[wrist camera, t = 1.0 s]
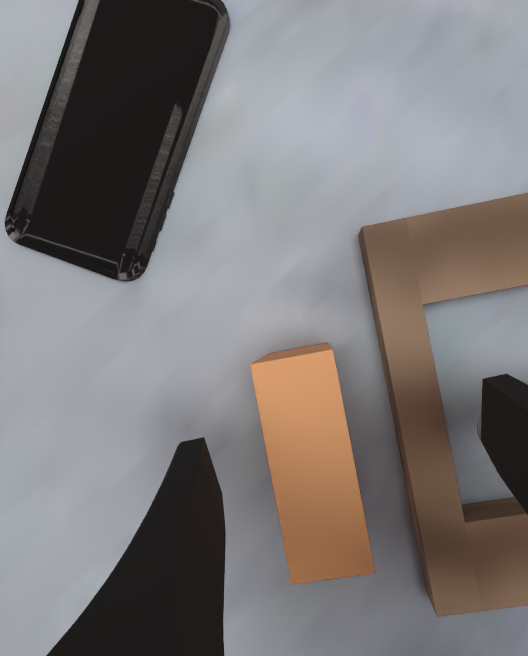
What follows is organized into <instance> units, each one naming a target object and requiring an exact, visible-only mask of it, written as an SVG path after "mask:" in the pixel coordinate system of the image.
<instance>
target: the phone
mask: <svg viewBox="0 0 528 656" xmlns="http://www.w3.org/2000/svg"><path fill="white" fill-rule="evenodd" d="M229 29H230V21H229V16H228V12H227V9H226V7H225V5H224V3H223V2H222V1H221V0H79V2H78V5H77V8H76V11H75V13H74V16H73V19H72V22H71V25H70V28H69V31H68V34H67V37H66V40H65V43H64V46H63V49H62V52H61V55H60V58H59V61H58V64H57V67H56V70H55V73H54V75H53V78H52V81H51V84H50V87H49V90H48V93H47V96H46V99H45V102H44V105H43V108H42V111H41V114H40V117H39V120H38V123H37V126H36V129H35V132H34V135H33V137H32V140H31V143H30V146H29V149H28V152H27V155H26V158H25V161H24V164H23V167H22V170H21V173H20V176H19V179H18V182H17V185H16V188H15V191H14V194H13V197H12V199H11V202H10V205H9V208H8V211H7V214H6V218H5V229H6V232H7V234H8V236H9V237H10V238H11V239H12V241H14V242H16V243H17V244H19V245H22V246H25V247H28V248H30V249H33V250H36V251H39V252H41V253H44V254H47V255H49V256H52V257H55V258H58V259H60V260H63V261H66V262H69V263H71V264H74V265H77V266H80V267H82V268H85V269H88V270H90V271H93V272H96V273H99V274H101V275H104V276H107V277H110V278H112V279H116V280H120V281H133V280H135V279H137V278H139V277H140V276H141V275H142V274H143V273H144V271H145V269H146V267H147V265H148V262H149V259H150V256H151V254H152V251H153V249H154V246H155V243H156V239H157V236H158V234H159V231H160V230H161V227H162V224H163V221H164V218H165V215H166V211H167V208H169V205H170V202H171V199H172V197H173V194H174V192H173V191H174V188H175V185H176V182H177V179H178V176H179V174H180V171H181V168H182V165H183V162H184V159H185V156H186V154H187V151H188V148H189V145H190V142H191V139H192V136H193V134H194V131H195V128H196V125H197V122H198V119H199V116H200V114H201V111H202V108H203V105H204V102H205V99H206V97H207V94H208V91H209V88H210V85H211V82H212V79H213V77H214V74H215V71H216V68H217V65H218V62H219V59H220V57H221V54H222V51H223V48H224V45H225V42H226V39H227V37H228V34H229Z"/></svg>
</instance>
